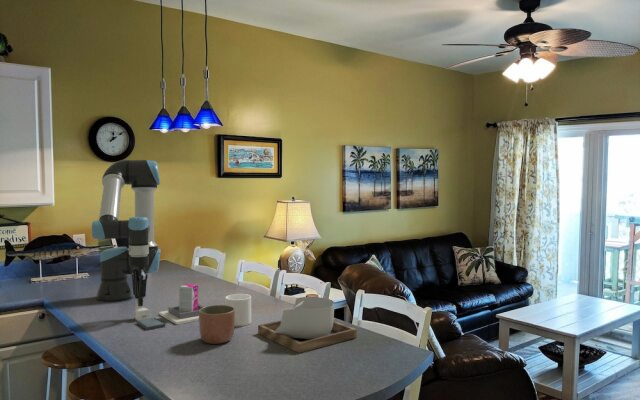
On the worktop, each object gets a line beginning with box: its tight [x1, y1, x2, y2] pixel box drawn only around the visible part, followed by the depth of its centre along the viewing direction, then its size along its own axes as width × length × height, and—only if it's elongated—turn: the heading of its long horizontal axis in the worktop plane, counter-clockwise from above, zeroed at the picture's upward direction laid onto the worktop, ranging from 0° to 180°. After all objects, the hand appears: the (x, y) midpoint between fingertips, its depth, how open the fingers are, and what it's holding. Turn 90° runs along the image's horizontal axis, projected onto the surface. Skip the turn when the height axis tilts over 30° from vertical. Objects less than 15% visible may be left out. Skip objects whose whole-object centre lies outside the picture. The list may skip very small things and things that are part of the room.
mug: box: [224, 293, 252, 328], centre depth 195 cm, size 13×10×10 cm
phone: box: [136, 317, 166, 331], centre depth 191 cm, size 11×7×1 cm, turn 39°
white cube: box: [134, 307, 150, 321], centre depth 198 cm, size 5×4×4 cm
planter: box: [198, 304, 235, 345], centre depth 173 cm, size 12×12×11 cm
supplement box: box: [178, 283, 199, 313], centre depth 204 cm, size 6×6×12 cm
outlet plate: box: [158, 303, 205, 325], centre depth 204 cm, size 18×18×3 cm
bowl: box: [275, 296, 335, 340], centre depth 179 cm, size 20×19×12 cm
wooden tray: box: [257, 320, 358, 354], centre depth 179 cm, size 25×25×3 cm
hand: (139, 313), depth 200 cm, fingers closed
